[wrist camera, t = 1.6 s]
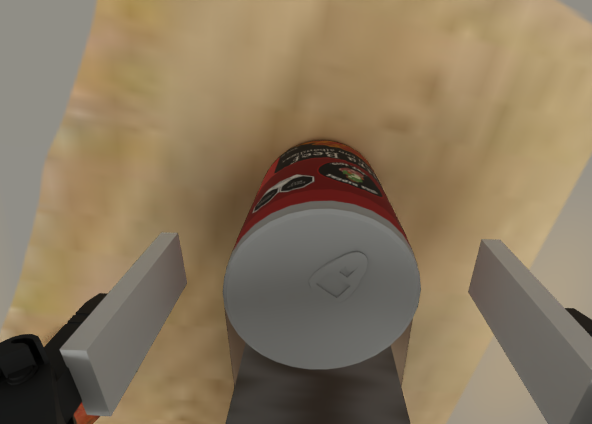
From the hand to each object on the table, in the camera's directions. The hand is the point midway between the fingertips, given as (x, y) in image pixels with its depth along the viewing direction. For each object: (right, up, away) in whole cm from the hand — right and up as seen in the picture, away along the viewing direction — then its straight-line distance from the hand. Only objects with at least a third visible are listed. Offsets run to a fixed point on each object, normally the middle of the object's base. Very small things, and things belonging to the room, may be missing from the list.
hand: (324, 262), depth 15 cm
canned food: (0, +3, +8) cm, 9 cm away
